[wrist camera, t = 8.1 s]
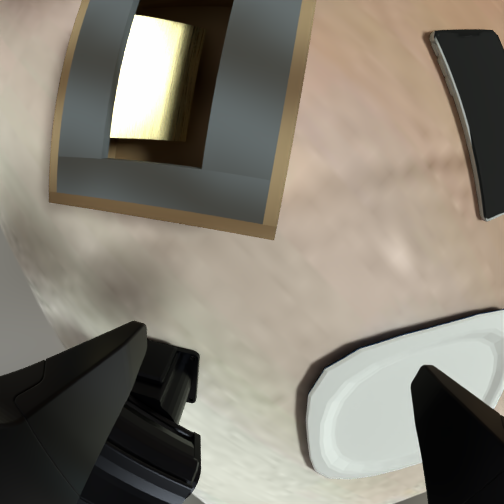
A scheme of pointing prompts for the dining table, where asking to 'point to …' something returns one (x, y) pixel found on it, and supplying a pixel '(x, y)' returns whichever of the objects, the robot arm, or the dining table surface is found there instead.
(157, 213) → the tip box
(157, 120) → the wooden block
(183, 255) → the dining table surface
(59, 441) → the robot arm
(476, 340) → the plate
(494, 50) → the smartphone
